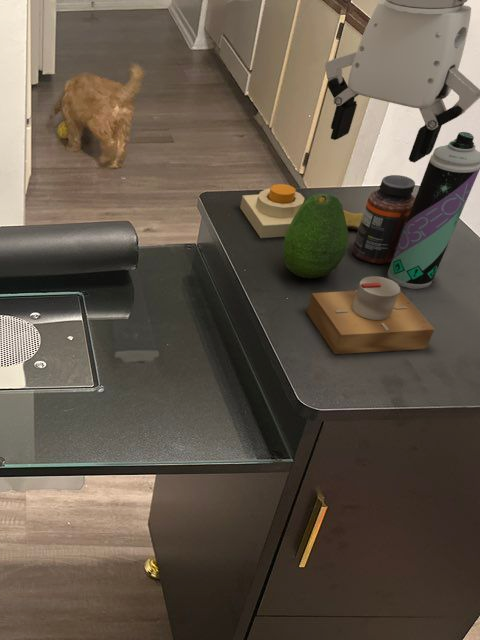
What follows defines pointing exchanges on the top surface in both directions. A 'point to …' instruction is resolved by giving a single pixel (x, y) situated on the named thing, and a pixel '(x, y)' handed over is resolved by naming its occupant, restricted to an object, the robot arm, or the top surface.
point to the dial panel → (367, 325)
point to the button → (282, 194)
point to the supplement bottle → (384, 220)
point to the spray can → (435, 212)
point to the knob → (375, 298)
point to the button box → (270, 213)
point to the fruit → (316, 237)
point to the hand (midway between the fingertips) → (376, 147)
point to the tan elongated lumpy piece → (353, 219)
